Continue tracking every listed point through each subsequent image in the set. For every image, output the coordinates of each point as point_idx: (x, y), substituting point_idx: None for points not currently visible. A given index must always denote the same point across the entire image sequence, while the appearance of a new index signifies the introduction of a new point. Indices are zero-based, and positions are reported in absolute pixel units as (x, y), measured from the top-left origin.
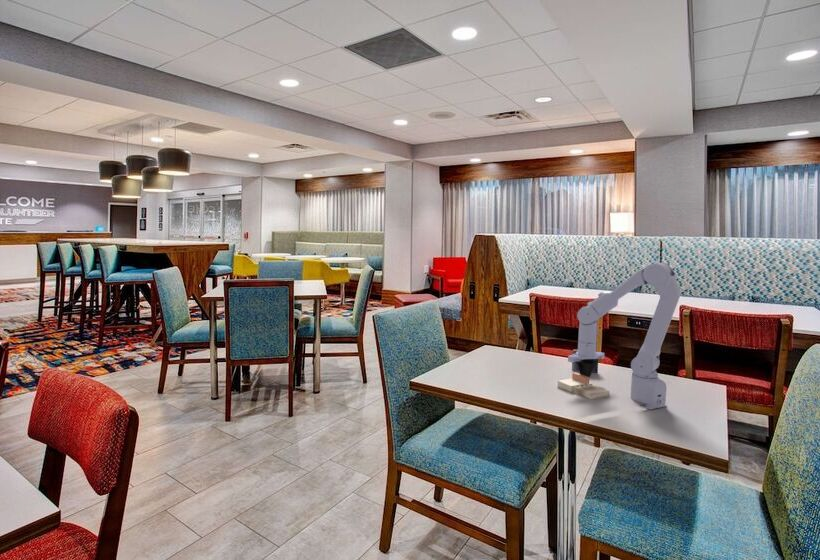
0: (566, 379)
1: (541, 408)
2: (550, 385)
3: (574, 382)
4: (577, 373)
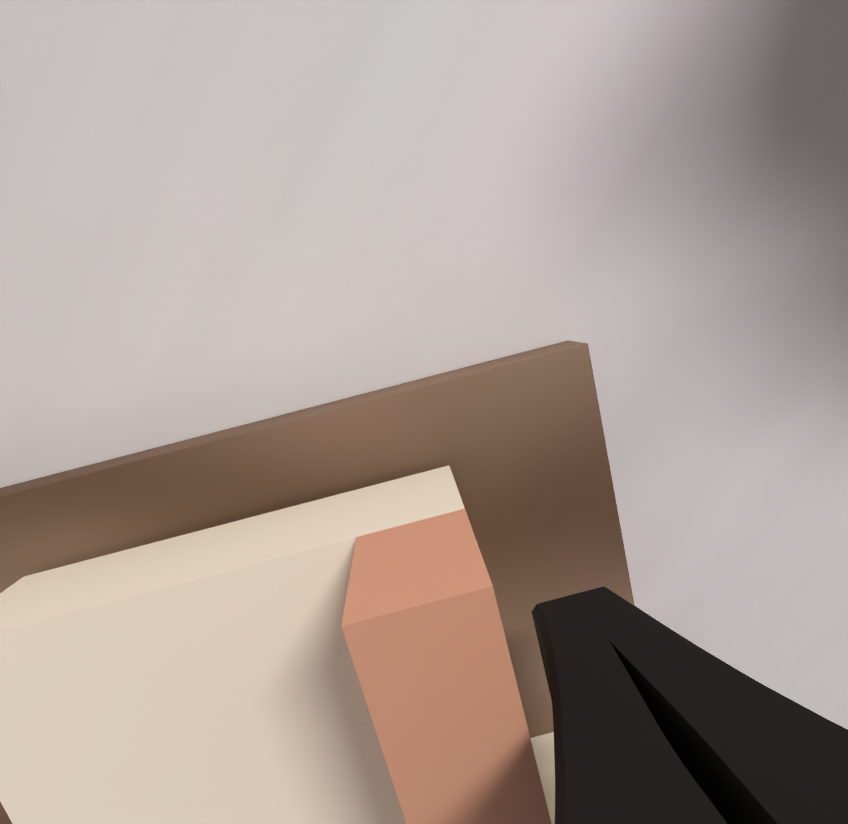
0: (176, 590)
1: None
2: (29, 308)
3: (265, 781)
4: (470, 692)
